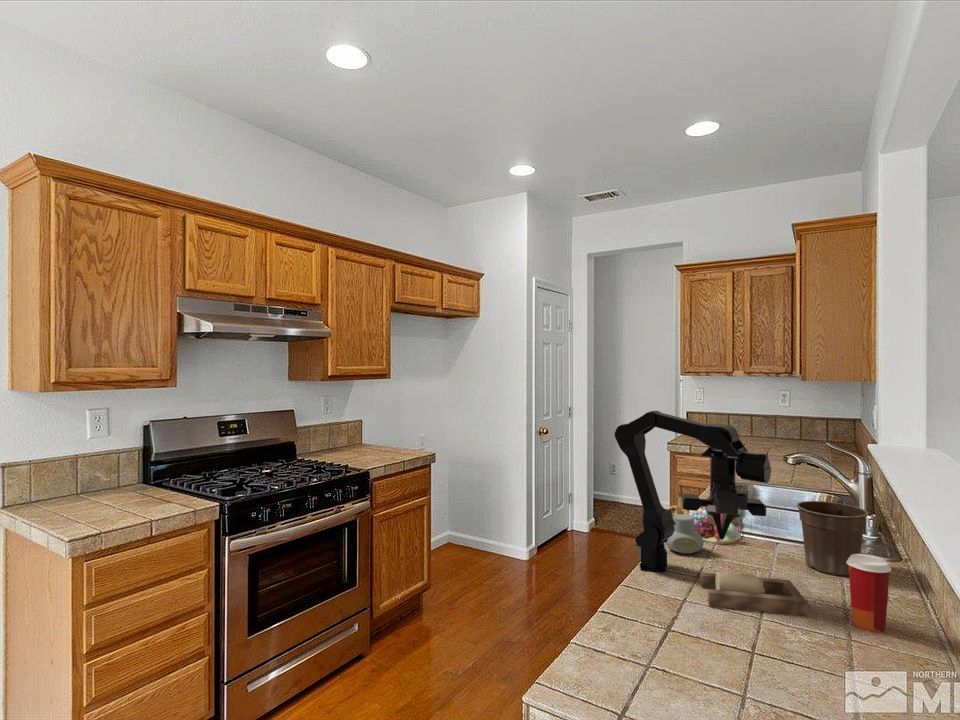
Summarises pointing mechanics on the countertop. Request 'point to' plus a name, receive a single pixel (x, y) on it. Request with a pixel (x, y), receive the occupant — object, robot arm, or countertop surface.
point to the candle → (739, 583)
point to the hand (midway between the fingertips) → (721, 539)
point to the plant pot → (831, 534)
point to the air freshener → (685, 535)
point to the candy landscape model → (707, 525)
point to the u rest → (758, 596)
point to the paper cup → (869, 591)
